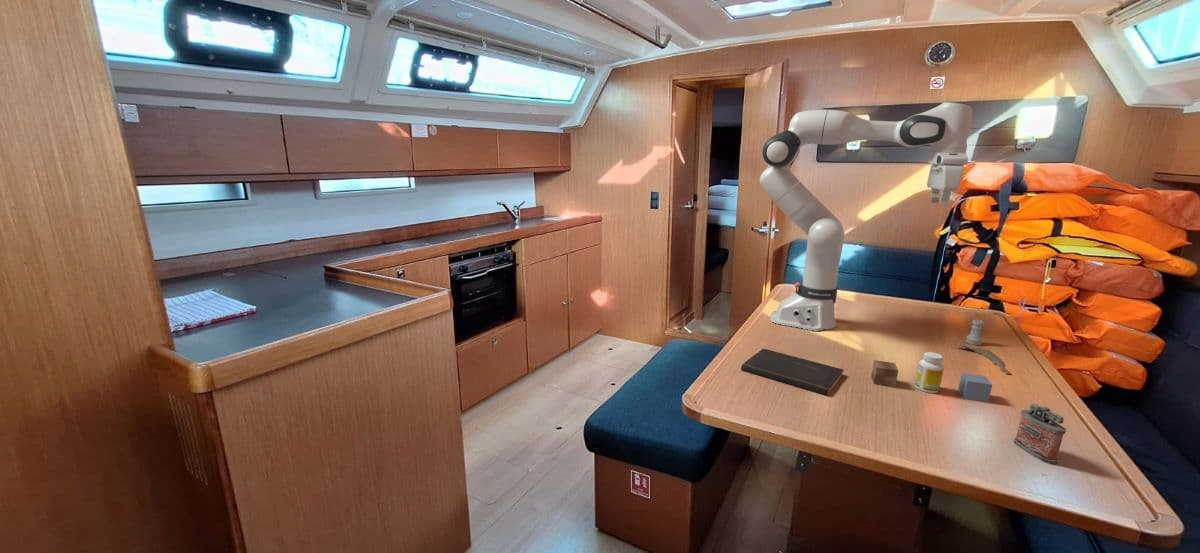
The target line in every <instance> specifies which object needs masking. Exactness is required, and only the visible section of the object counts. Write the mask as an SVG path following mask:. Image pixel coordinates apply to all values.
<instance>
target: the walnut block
mask: <svg viewBox="0 0 1200 553" xmlns="http://www.w3.org/2000/svg"><path fill="white" fill-rule="evenodd" d="M898 374H899V368H898V367H897V365H896V363H895V362H890V361H883V360H876V359H873V363H872V371H871V376H870V377H871V380H872V383H873V385H877V386H884V387H889V388H896V386H897V379H898Z"/></svg>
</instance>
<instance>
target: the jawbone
mask: <svg viewBox="0 0 1200 553" xmlns="http://www.w3.org/2000/svg"><path fill="white" fill-rule="evenodd" d="M953 345H955V346H959V347H962V350H966V349H967V351H968V350H970V351H973V352H974V353H977V354H980V355H982V356H984V357H985V358H987V359H988V360H991V361H992V363H993V364H994V365H997V367H998V368H999V367H1000V368H999V369H1000V370H1001V371H1002V372H1003V373H1005V374H1006V375H1008V376H1009V375H1010V376H1011V375H1012V372H1010V370H1007V369H1006V367H1005V366H1006V364H1005V362H1004V361H1003V360H1002V359H1001V358H1000V357H999V356H997V355H996V354H995V353H993V352H992V351H991V350H990V349H989V350H988V349H985V348H978V347H971V346H968V345H967V344H960V343H956V342H953ZM1009 373H1010V374H1009Z"/></svg>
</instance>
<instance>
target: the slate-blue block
mask: <svg viewBox="0 0 1200 553" xmlns="http://www.w3.org/2000/svg"><path fill="white" fill-rule="evenodd" d="M992 388H993V383H992V382H991V381H990V380H989V379H988V378H987V377H986V375H980V374H979V375H977V374H971V373H964V372H961V374H960V380H959V383H958V388H957V391H958V392H959V394H960V395H961V397H962V398H963V400H969V401H973V402H974V401H976V402H980V403H981V402H982V403H989V402H990V396H991V393H992Z"/></svg>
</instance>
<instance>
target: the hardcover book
mask: <svg viewBox="0 0 1200 553" xmlns="http://www.w3.org/2000/svg"><path fill="white" fill-rule="evenodd" d="M740 371H741V372H744V373H748V374H751V375H754V376H758V377H760V378H761V377H762V378H765V379H768V380H771V381H774V382H778V383H781V384H784V385H789V386H792V387H795V388H798V389H802V390H804V391H808V392H811V393H815V394H818V395H821V396H825V397H828V396H829V393H830V392H831V390H832V389H833V388H834V387H835V385H836V384H837V383H838V381H839V379H840V378H841V377H842V375H843V373H844V371H845V369H843V368H839V367H835V366H831V365H827V364H825V363H820V362H817V361H813V360H809V359H805V358H801V357H797V356H794V355H790V354H785V353H782V352H778V351H775V350H771V349H767V348H761V349H760V350H759V351H758V352H756V353H755V354H753V355H752V356H751V357H749V358H748V359H747V360H746V361H744V362H743V363H742V364H741V367H740Z"/></svg>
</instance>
